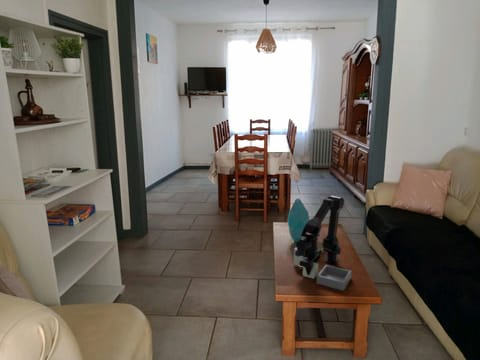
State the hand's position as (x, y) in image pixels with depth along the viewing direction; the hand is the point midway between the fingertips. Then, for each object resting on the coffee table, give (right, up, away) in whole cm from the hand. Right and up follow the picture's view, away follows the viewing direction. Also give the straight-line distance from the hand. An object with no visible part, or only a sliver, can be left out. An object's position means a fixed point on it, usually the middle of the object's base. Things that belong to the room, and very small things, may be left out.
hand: (310, 272), depth 194 cm
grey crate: (+11, -3, -6) cm, 13 cm away
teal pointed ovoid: (0, +9, +43) cm, 44 cm away
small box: (-3, +1, +12) cm, 13 cm away
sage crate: (0, -1, 0) cm, 2 cm away
